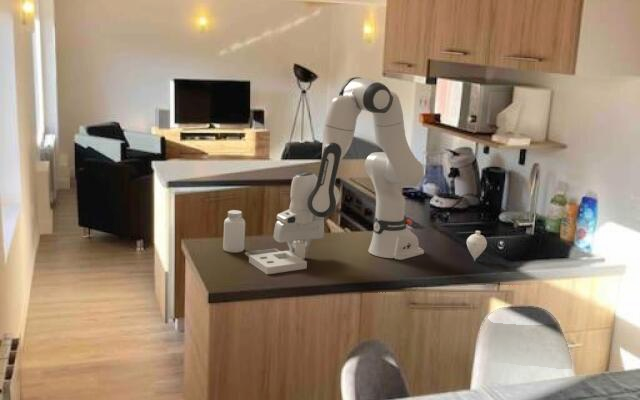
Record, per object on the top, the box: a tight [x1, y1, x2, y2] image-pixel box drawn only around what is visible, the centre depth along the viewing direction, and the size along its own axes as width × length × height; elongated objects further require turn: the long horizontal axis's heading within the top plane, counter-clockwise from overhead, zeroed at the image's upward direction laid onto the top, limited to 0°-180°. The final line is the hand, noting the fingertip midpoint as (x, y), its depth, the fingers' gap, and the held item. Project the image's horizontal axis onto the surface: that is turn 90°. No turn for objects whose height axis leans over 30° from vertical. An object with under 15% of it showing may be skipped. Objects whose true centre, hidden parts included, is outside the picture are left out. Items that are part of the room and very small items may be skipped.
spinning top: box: [466, 230, 488, 262], centre depth 261 cm, size 8×8×12 cm
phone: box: [244, 248, 281, 258], centre depth 253 cm, size 13×7×2 cm, turn 123°
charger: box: [291, 240, 306, 260], centre depth 252 cm, size 4×4×7 cm
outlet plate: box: [248, 250, 308, 275], centre depth 243 cm, size 16×14×3 cm
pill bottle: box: [222, 209, 246, 254], centre depth 256 cm, size 8×8×15 cm
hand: (298, 251), depth 252 cm, fingers open, 4 cm apart
